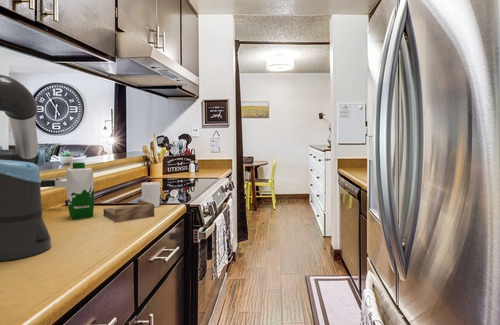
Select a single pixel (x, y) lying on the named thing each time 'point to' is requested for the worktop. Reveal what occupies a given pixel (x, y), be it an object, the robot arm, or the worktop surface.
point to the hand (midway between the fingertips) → (54, 186)
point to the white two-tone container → (80, 191)
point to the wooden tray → (130, 211)
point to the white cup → (151, 192)
